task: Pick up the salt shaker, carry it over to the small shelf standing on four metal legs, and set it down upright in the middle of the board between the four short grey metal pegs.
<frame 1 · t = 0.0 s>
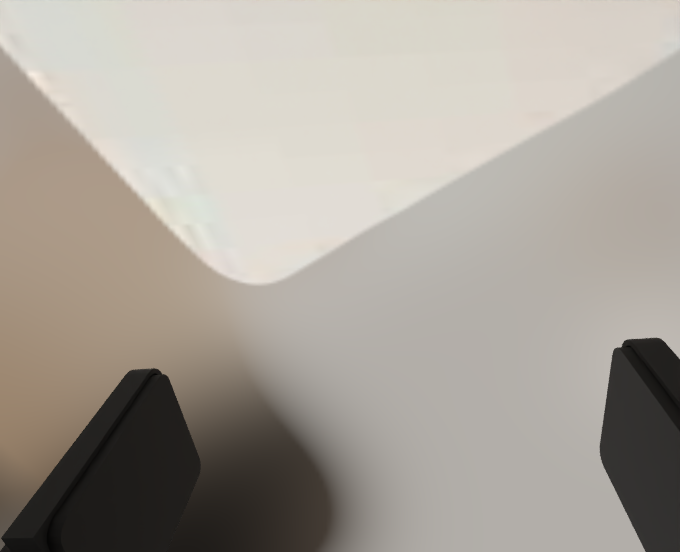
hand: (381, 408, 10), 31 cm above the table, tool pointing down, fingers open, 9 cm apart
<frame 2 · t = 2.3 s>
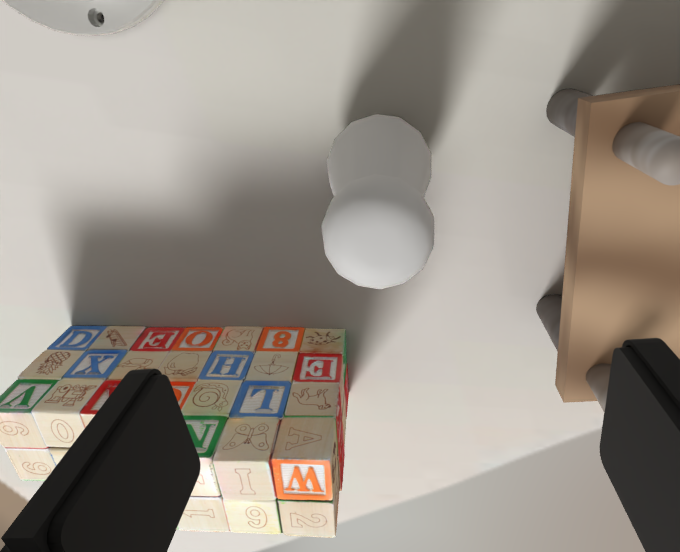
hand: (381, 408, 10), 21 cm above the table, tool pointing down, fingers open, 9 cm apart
stack of blocks: (213, 356, 37), on the table
salt shaker: (379, 157, 29), on the table
shelf: (654, 207, 29), on the table
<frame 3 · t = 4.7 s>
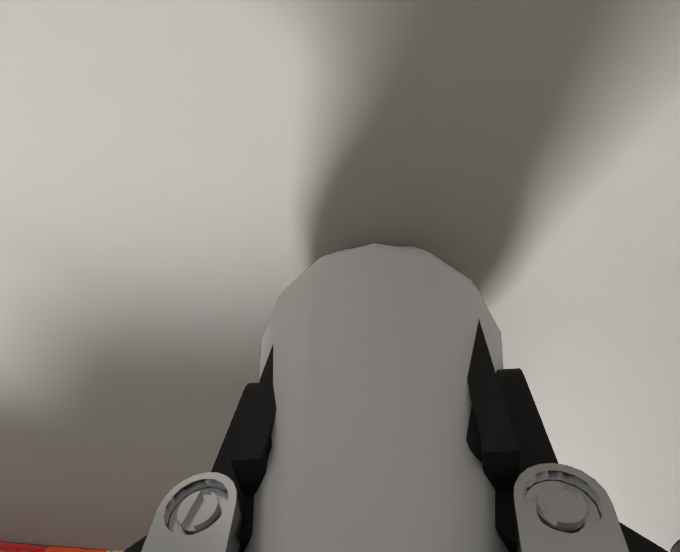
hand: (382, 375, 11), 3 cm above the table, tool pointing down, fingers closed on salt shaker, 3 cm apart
salt shaker: (381, 302, 14), on the table, touching gripper
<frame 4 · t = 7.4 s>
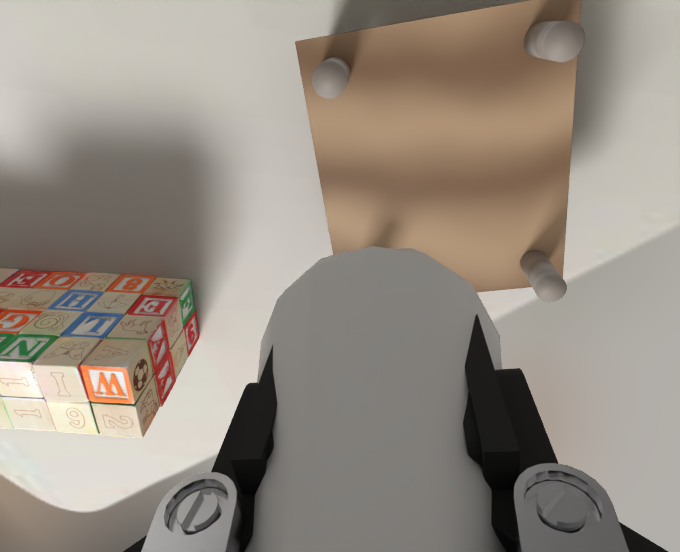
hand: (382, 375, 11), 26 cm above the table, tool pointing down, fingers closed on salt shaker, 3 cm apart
stack of blocks: (81, 300, 43), on the table
salt shaker: (380, 304, 14), point 22 cm above the table, touching gripper
shelf: (429, 145, 34), on the table
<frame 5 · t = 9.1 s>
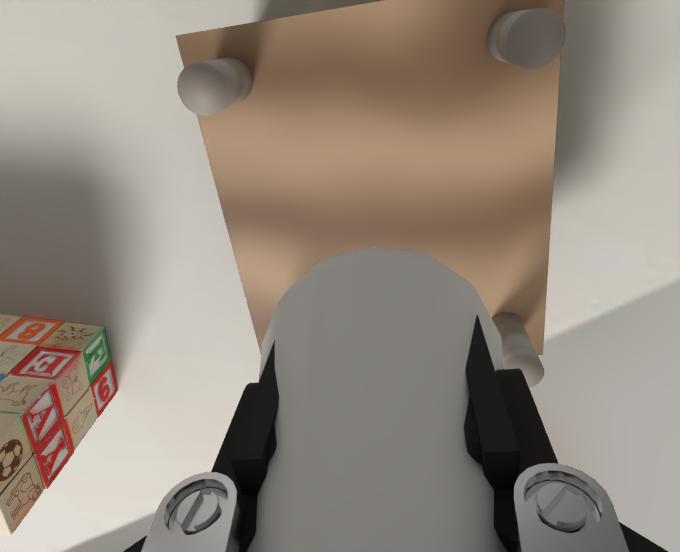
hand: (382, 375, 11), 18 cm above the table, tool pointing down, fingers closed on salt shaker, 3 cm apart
salt shaker: (381, 305, 14), point 15 cm above the table, touching gripper
shelf: (383, 169, 27), on the table
when the fingers open (12 cm above the table, at t = 10.5 s): salt shaker drops 1 cm, resting on shelf.
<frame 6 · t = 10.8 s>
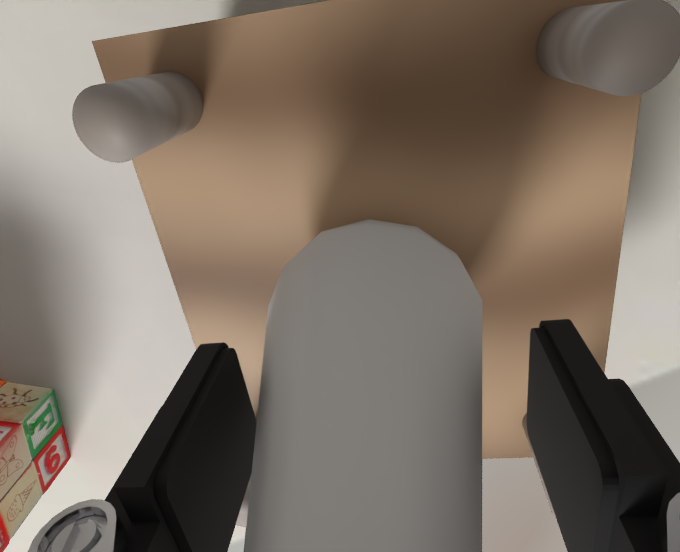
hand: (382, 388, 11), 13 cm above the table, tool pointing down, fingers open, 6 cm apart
salt shaker: (377, 278, 15), point 7 cm above the table, touching shelf
shelf: (385, 205, 22), on the table
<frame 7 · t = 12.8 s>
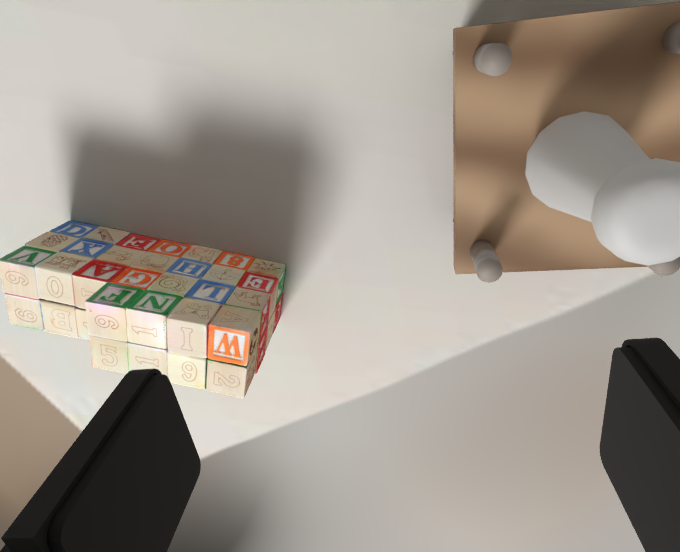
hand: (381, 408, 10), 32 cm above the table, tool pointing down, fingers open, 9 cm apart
stack of blocks: (179, 268, 47), on the table
salt shaker: (564, 154, 30), point 7 cm above the table, touching shelf
shelf: (538, 135, 37), on the table
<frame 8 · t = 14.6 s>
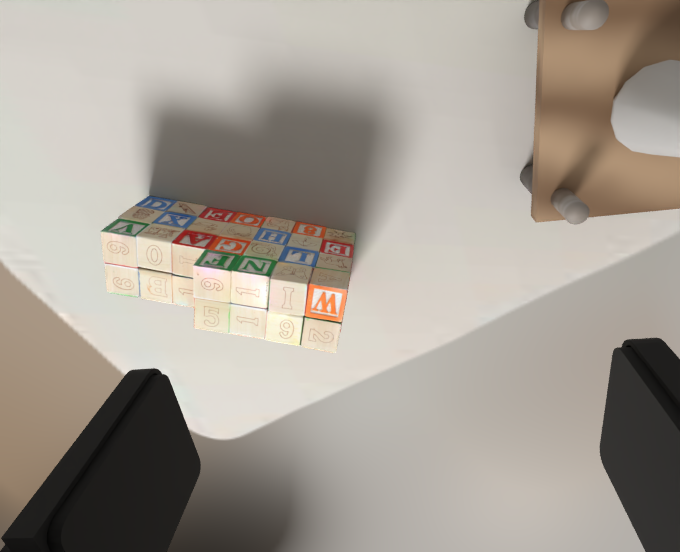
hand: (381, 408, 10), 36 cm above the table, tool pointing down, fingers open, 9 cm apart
stack of blocks: (251, 240, 49), on the table
salt shaker: (641, 103, 33), point 7 cm above the table, touching shelf
shelf: (603, 91, 40), on the table
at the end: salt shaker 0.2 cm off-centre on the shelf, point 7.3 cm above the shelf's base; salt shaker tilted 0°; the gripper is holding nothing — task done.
